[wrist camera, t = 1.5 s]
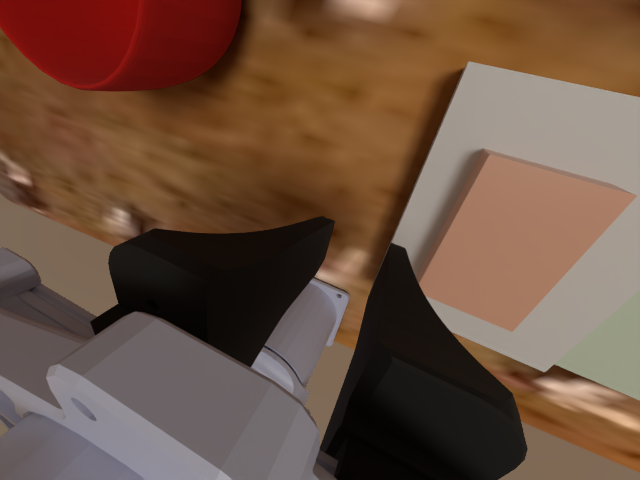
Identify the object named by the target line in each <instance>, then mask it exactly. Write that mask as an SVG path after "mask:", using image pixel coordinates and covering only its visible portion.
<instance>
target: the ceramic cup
mask: <svg viewBox="0 0 640 480" xmlns="http://www.w3.org/2000/svg"><path fill="white" fill-rule="evenodd" d="M241 8H242V0H0V28H1V29H2V30H3V32H4V33H5V34H6V36H7V37H8V38H9V39H10V40H11V41H12V42H13V44H14V45H15V46H16V47H17V48H18V49H19V50H20V51H21V53H22V54H23V55H24V56H25V57H26V58H28V59H29V60H30V61H31V62H32V63H33V64H34V65H36V66H37V67H38V68H39V69H40V70H41V71H43V72H44V73H46V74H47V75H49V76H51V77H52V78H54V79H56V80H57V81H59V82H60V83H63V84H66V85H69V86H71V87H74V88H77V89H81V90H91V91H139V90H152V89H160V88H165V87H170V86H174V85H177V84H180V83H184V82H187V81H190V80H192V79H194V78H196V77H198V76H200V75H201V74H203V73H204V72H206V71H207V70H208V69H210V68H211V67H213V66H214V65H215V64H216V63H217V61H218V60H219V59H220V58H221V57H222V56H223V55H224V53H225V52H226V50H227V49H228V47H229V45H230V43H231V41H232V40H233V38H234V35H235V32H236V29H237V26H238V23H239V19H240V13H241Z"/></svg>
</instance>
